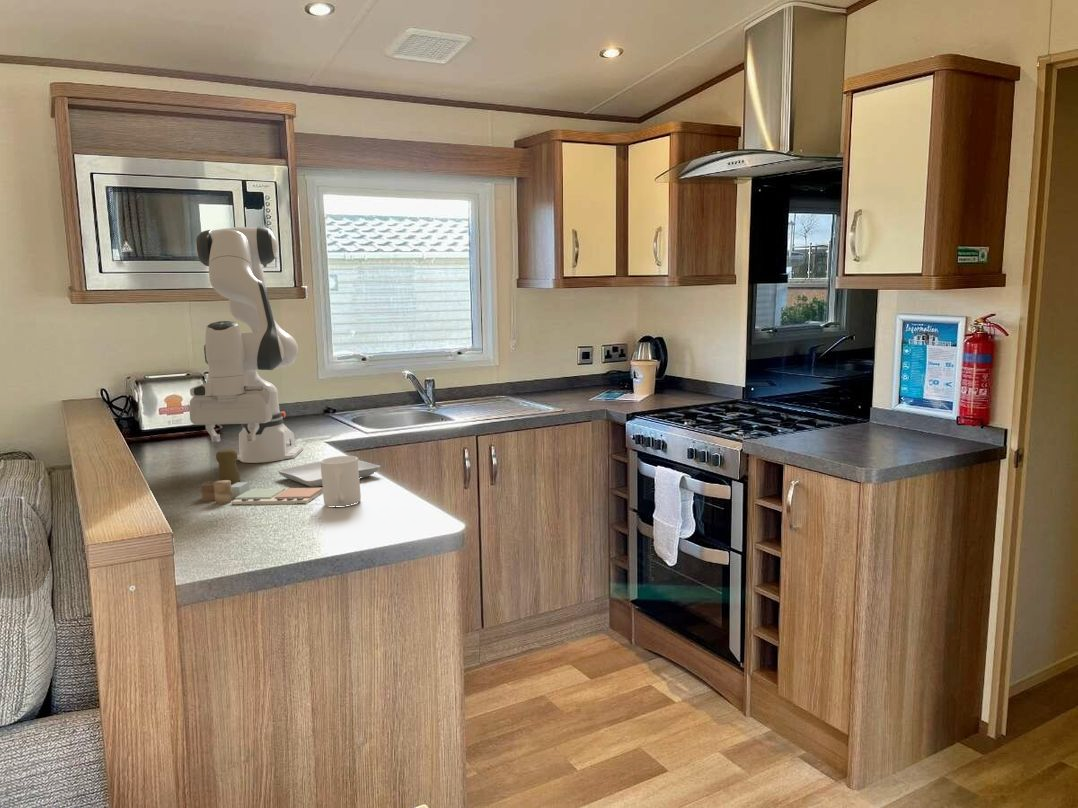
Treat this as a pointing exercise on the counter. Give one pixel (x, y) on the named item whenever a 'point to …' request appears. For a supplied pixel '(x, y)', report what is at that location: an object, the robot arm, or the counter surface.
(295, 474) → the salad plate
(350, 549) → the counter surface
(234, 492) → the soap box
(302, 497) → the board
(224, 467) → the pepper shaker
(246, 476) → the counter surface
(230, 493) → the cork stopper
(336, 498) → the mug
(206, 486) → the walnut cube
